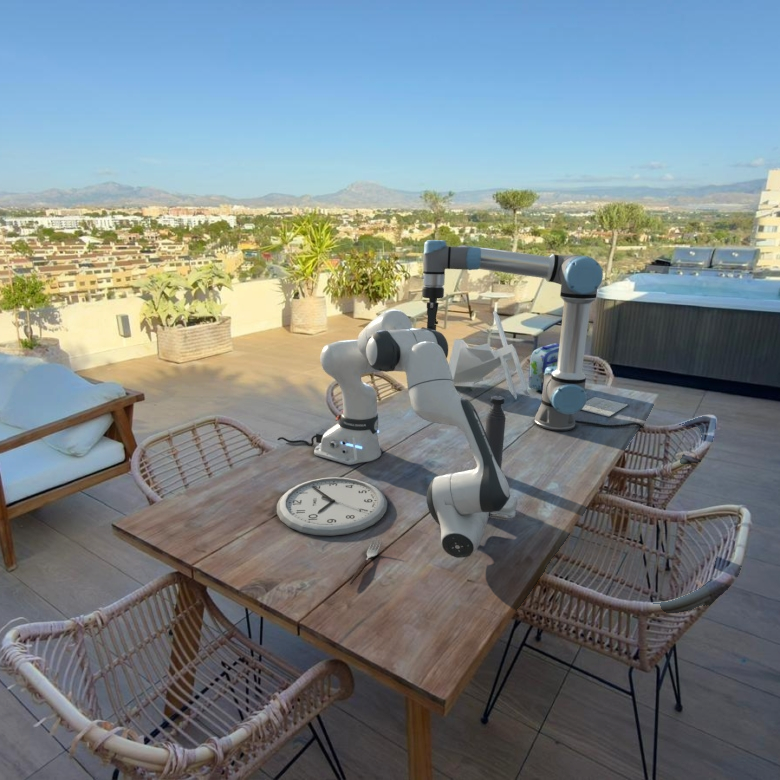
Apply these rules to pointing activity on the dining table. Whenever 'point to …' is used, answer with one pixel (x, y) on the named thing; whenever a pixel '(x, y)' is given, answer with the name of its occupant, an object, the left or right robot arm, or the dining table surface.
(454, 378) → the white plastic object
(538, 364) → the lunch box
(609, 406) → the invitation card
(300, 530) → the wall clock
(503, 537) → the dining table surface
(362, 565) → the fork
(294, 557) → the dining table surface
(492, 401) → the cap
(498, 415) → the bottle
